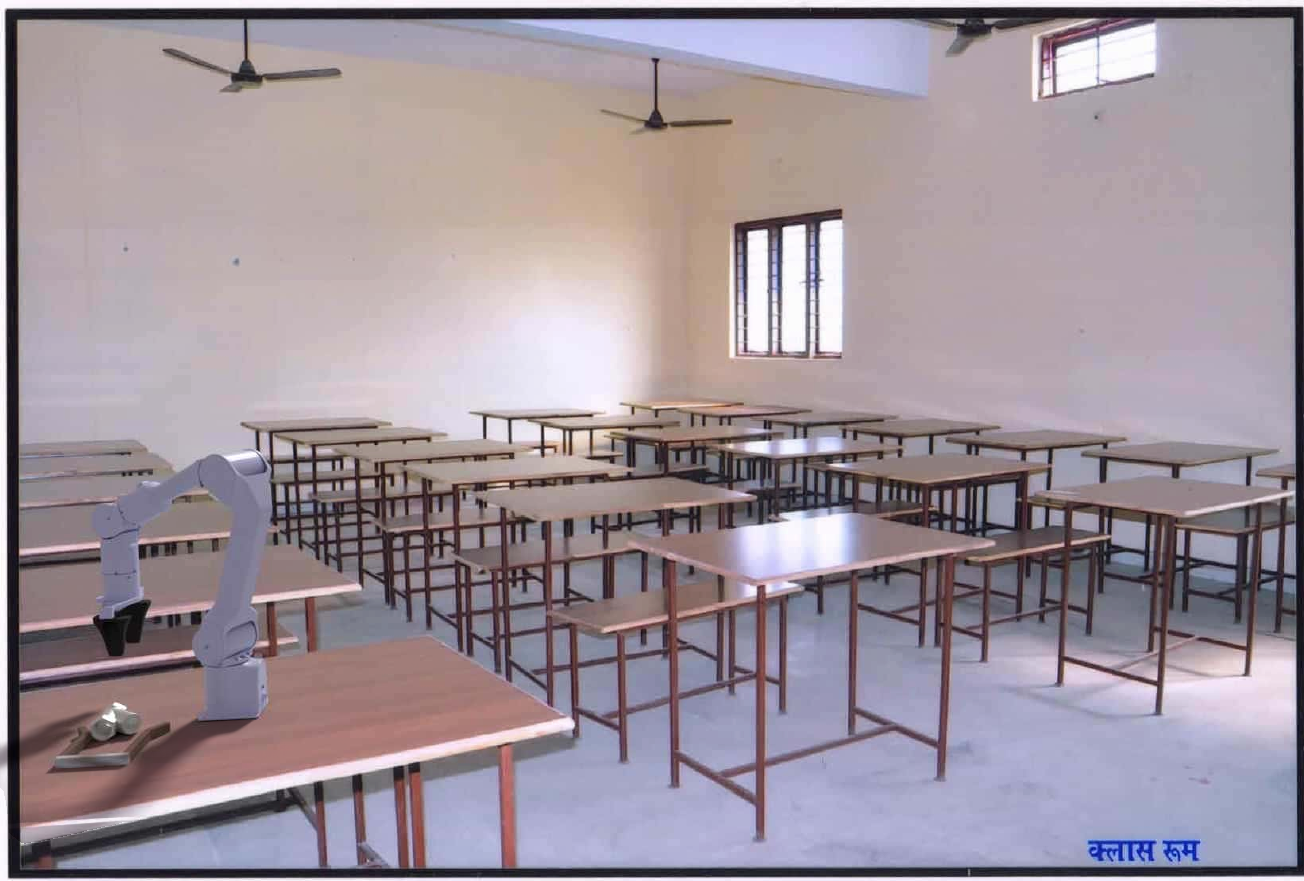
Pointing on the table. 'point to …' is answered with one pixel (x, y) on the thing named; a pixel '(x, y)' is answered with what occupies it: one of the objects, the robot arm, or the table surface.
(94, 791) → the table surface
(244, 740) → the table surface
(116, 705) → the pipe fitting
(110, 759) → the angular open frame
